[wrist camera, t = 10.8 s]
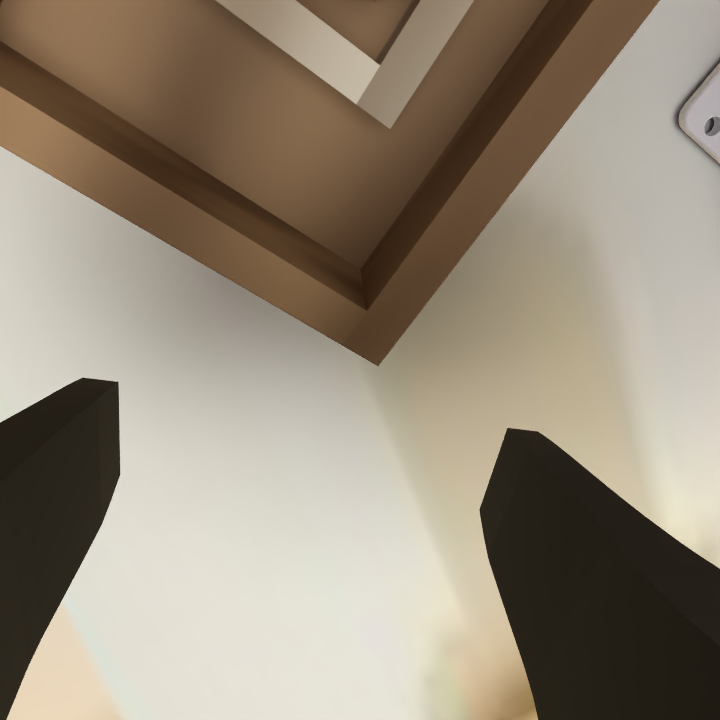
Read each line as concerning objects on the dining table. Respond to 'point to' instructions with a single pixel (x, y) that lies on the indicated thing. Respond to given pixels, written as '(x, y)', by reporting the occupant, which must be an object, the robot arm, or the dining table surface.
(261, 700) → the dining table surface
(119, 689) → the dining table surface
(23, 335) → the dining table surface
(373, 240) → the box
